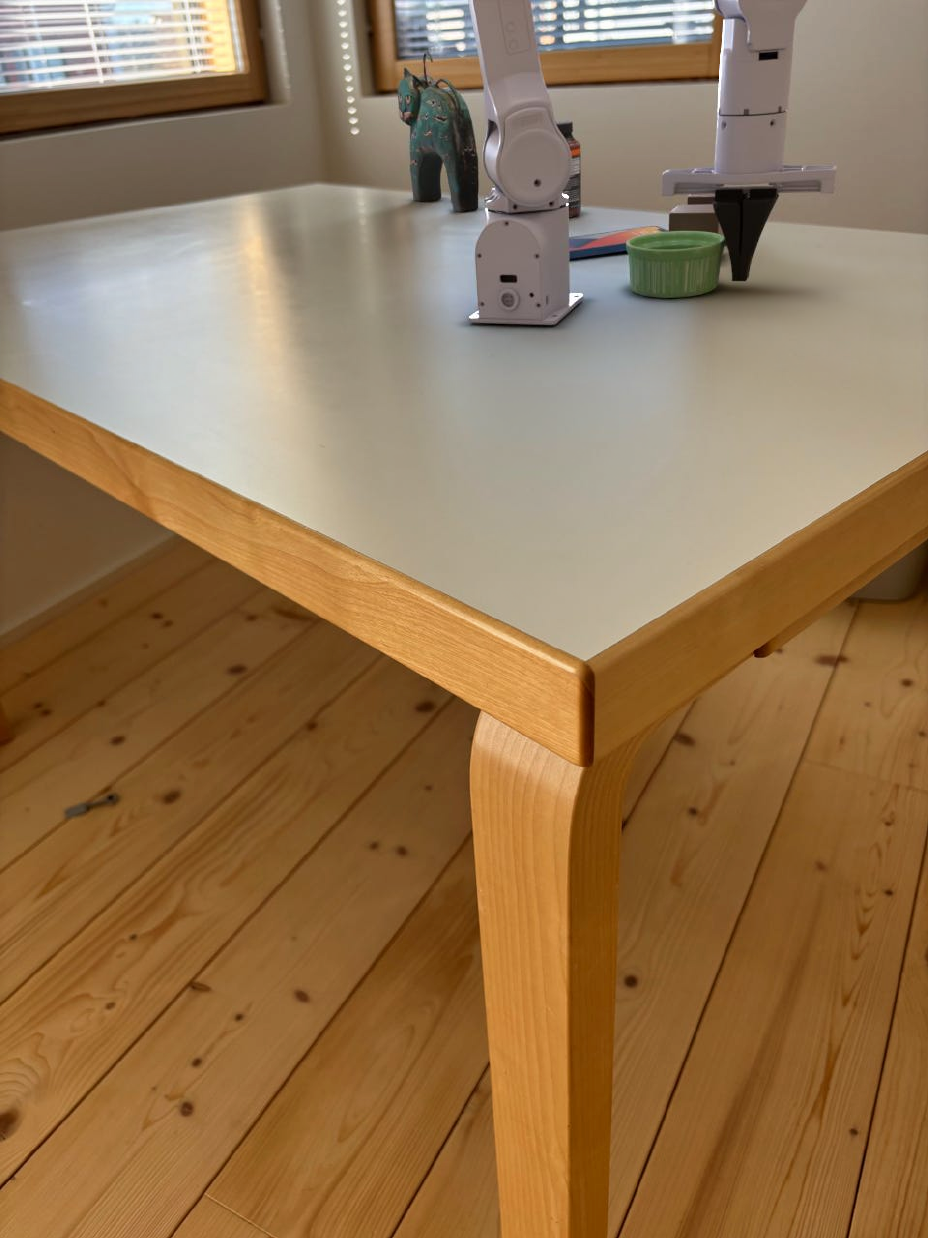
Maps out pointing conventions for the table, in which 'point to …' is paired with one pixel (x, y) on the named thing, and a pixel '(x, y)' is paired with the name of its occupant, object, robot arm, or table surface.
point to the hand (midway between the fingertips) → (740, 278)
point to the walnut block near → (695, 219)
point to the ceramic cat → (439, 140)
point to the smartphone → (606, 241)
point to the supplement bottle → (575, 178)
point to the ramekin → (675, 263)
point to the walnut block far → (701, 199)
